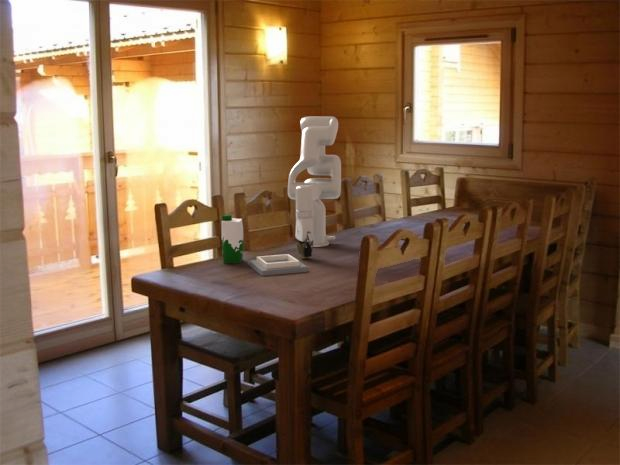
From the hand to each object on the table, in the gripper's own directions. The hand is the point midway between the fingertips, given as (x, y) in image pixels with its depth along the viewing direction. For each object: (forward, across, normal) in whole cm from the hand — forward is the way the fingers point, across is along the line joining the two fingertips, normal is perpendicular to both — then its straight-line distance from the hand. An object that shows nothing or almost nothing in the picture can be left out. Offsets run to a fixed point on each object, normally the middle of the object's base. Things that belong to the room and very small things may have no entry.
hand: (304, 254), depth 312 cm
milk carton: (+2, -7, -30) cm, 31 cm away
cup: (+2, 0, 0) cm, 2 cm away
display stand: (+2, +12, -16) cm, 20 cm away
